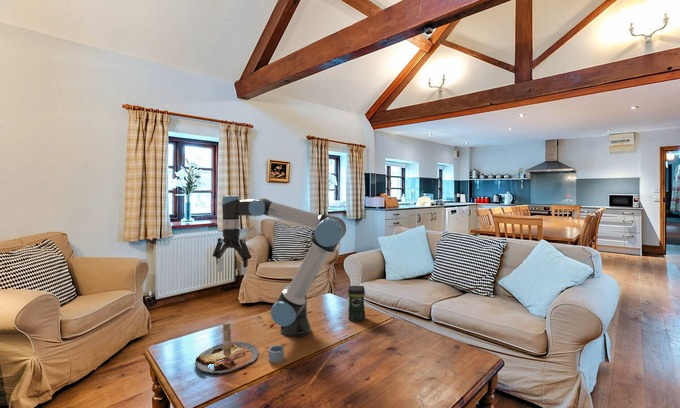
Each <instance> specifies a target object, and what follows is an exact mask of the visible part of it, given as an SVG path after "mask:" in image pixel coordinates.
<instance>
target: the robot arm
mask: <svg viewBox="0 0 680 408" xmlns="http://www.w3.org/2000/svg"><path fill="white" fill-rule="evenodd" d="M221 203H222V204H221V208H222V210H221V211H222V212H221V213H222V237H218V238H217V243H216V245H215V248H214V250H213V254H212V257H214V258H215V259H216V265H217V273H220V272H223V271H224V263H223V261H224V260H223V255H224V253H225V252H226V250H227V249H230V248H231V249H234V250H235V251H236V252H237V254H238V255H239V256H240V258H241V263H240V265H241V267H240V268H241V275H245V274H247V267H248V266H249V264H248V263H249V262H248V260H251V259H252V255H251V253H250V250H249V248H248V246H247V243H246V238H240V236H241V235H240V234H241V233H240V226H241V225H240V217H241V216H242V217H243V216H244V217H245V216H247V217H248V216H249V217H261V216H267V217H271V218H274V219H277V220H279V221H284V222H288V223H291V224H294V225H297V226H301V227H305V228H308V229H311V230H314V233H313V235H312V237H311V238H310V242H311V246H310V248H309V249H308V251H307V253H306V255H305V257H304V259H303V260H302V262H301V264H300V265H299V267H298V269H297V270H296V272H295V275H294V276H293V278H292V280H291V282H290V283H289V284H288V286H284V287H283V290H282V291H281V293H280V295H279V297H278V298H277V300H276V302H274V303H273V305H272V307H271V309H270V316H271V319H272V321H273V322H274V323H275V324H276V325H278V326H280V333H279V334H280V335H283V336H285V337H288V338H289V337H290V338H293V337H294V338H303V337H305V336H308V335H309V334H310V333H311V324H310V321H309V319H308V311H307V310H308V306H307V305H308V303H307V302H308V291H309V289H310V287H311V286H312V284H313V282H314V281H315V279H316V277H317V276H318V273H319V272H320V270H321V268H322V267H323V265H324V263H325V261H326V259H327V257H328V255H329V254H334V252H335V250H336V249H337V246H338V245H339V243H340V241H341V240H342V239H343V238H344V236H345V234H346V231H347V226H346V223H345V221H344V220H343V219H342V218H341V217H338V216H336V215H335V216H334V215H328V214H325V213H321V214H318V213H317V214H316V213H313V212H309V211H306V210H302V209H299V208H295V207H292V206H289V205H286V204H282V203H278V202H274V201H271V200H269V199H268V198H257V199H256V198H255V199H240V196H239V195H223V197H222V201H221Z"/></svg>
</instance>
